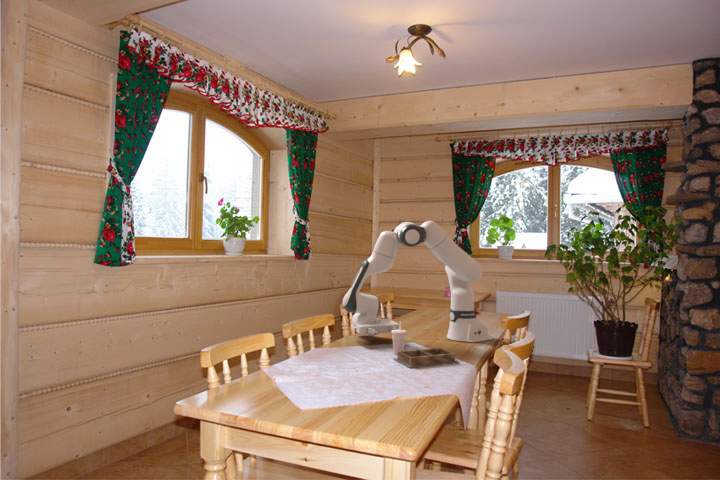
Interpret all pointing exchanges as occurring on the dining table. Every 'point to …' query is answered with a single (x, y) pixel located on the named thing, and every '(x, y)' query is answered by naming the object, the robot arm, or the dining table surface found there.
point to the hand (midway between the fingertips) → (385, 331)
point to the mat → (423, 365)
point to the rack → (425, 356)
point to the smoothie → (398, 339)
